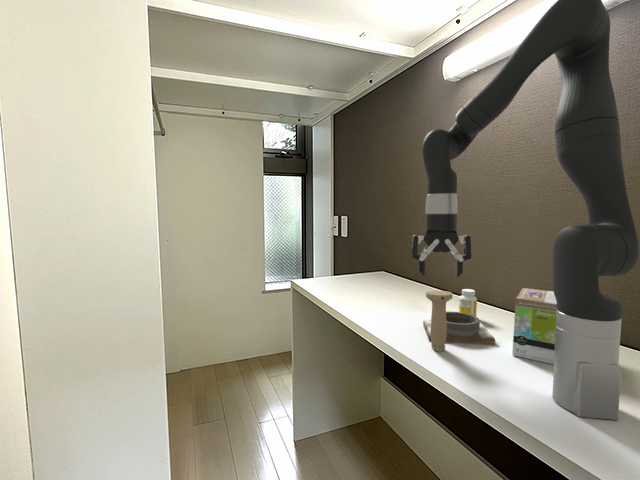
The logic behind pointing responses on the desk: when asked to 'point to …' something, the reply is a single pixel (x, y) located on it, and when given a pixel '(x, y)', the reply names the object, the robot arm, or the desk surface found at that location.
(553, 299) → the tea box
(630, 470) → the desk surface
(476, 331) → the ring socket base
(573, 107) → the robot arm
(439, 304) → the handle
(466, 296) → the supplement bottle
